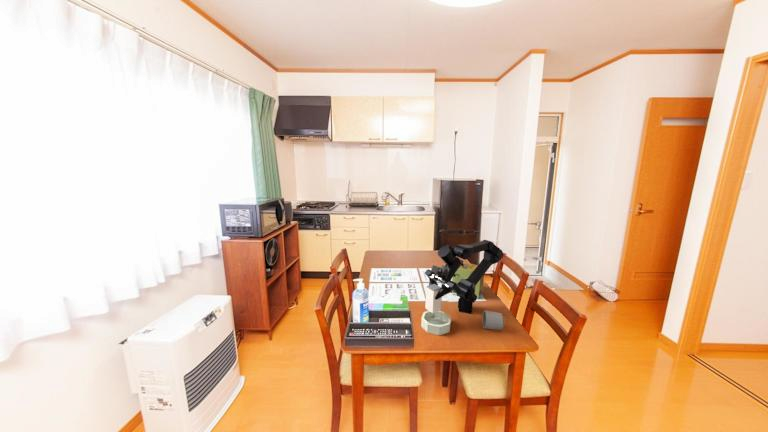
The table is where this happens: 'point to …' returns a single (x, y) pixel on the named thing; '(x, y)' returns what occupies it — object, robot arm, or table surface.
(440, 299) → the pebble canister
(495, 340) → the table surface
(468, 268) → the protein box
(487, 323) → the ceramic mug
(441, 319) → the sage bowl
